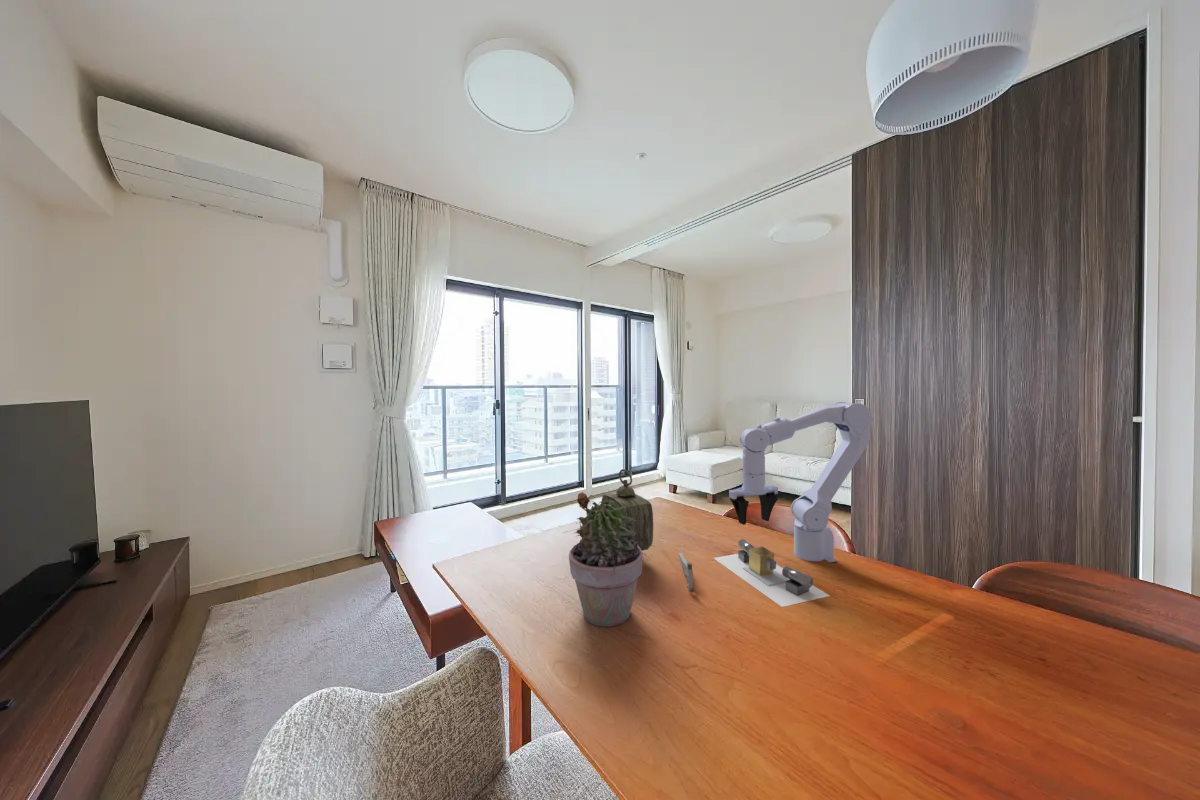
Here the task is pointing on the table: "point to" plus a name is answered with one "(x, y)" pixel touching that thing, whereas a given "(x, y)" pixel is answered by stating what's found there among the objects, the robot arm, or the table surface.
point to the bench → (769, 582)
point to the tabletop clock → (634, 511)
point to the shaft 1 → (744, 550)
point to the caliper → (687, 571)
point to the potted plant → (605, 563)
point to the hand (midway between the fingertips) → (753, 521)
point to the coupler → (761, 560)
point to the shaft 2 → (797, 581)
